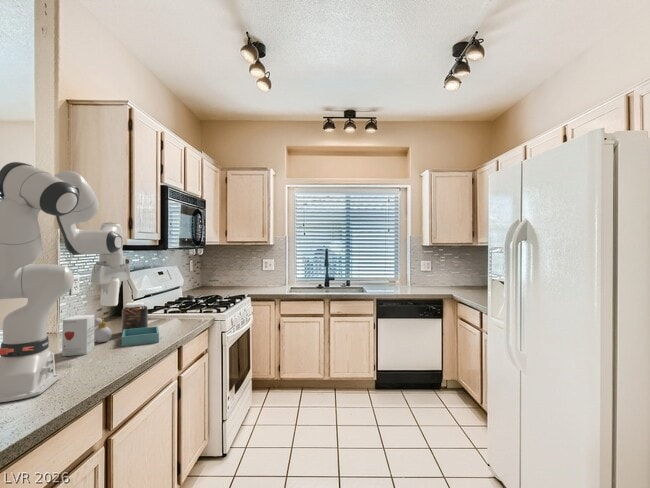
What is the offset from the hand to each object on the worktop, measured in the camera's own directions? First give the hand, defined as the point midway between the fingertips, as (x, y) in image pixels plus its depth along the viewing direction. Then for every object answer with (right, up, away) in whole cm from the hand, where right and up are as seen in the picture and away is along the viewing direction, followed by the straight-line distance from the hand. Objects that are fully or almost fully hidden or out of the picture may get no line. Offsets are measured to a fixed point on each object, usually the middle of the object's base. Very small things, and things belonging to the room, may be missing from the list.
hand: (111, 293), depth 150 cm
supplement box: (-12, -25, -3) cm, 28 cm away
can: (0, -5, -1) cm, 5 cm away
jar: (-7, -25, +31) cm, 40 cm away
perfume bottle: (-12, -25, +12) cm, 30 cm away
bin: (+4, -25, +16) cm, 30 cm away
